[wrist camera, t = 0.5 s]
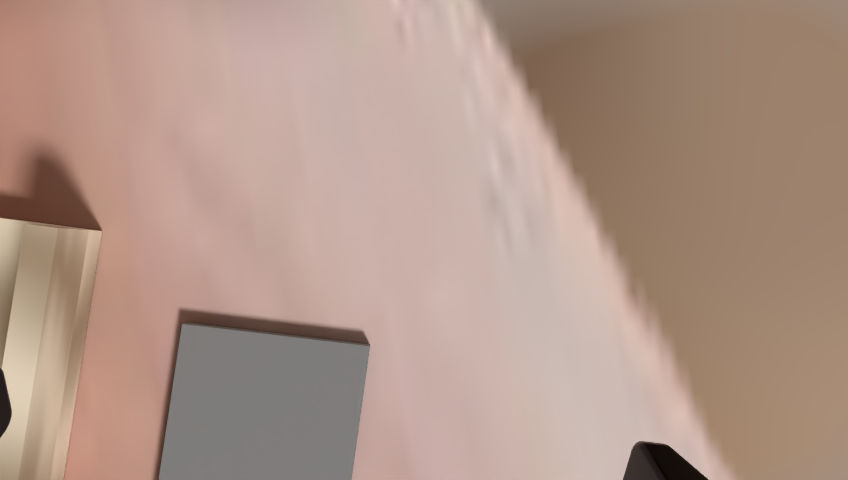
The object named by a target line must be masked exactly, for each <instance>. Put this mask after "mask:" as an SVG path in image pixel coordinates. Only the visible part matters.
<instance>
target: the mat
mask: <svg viewBox="0 0 848 480" xmlns="http://www.w3.org/2000/svg"><path fill="white" fill-rule="evenodd" d="M369 350H370V344H365V343H356V342H348V341H340V340H331V339H323V338H315V337H306V336H298V335H290V334H281V333H273V332H264V331H256V330H248V329H239V328H231V327H223V326H214V325H206V324H197V323H189V322H186V323H183V324H182V328H181V334H180V341H179V348H178V354H177V361H176V368H175V374H174V381H173V388H172V394H171V401H170V408H169V414H168V421H167V427H166V434H165V441H164V447H163V454H162V461H161V467H160V474H159V480H351V478H352V471H353V464H354V457H355V450H356V443H357V435H358V428H359V421H360V414H361V407H362V400H363V393H364V385H365V378H366V371H367V364H368V357H369Z"/></svg>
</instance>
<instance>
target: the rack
mask: <svg viewBox="0 0 848 480" xmlns="http://www.w3.org/2000/svg"><path fill="white" fill-rule="evenodd" d="M101 235H102V231H98V230H91V229H83V228H76V227H68V226H61V225H54V224H46V223H39V222H31V221H24V220H16V219H9V218H1V217H0V368H1V369H2V370H3V372H4V376H5V380H6V385H7V390H8V394H9V399H10V403H11V408H12V417H11V421H10V423H9V426H8V428H7V429H6V431H5V432H4V434H3V435H2V437H1V438H0V480H63V479H64V472H65V466H66V460H67V453H68V447H69V440H70V434H71V428H72V421H73V415H74V408H75V402H76V395H77V389H78V383H79V376H80V370H81V363H82V357H83V351H84V344H85V338H86V331H87V325H88V319H89V312H90V306H91V299H92V293H93V286H94V280H95V274H96V267H97V261H98V254H99V248H100V242H101Z"/></svg>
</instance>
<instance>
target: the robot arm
mask: <svg viewBox="0 0 848 480" xmlns="http://www.w3.org/2000/svg"><path fill="white" fill-rule="evenodd" d="M11 417H12V408H11V403H10V399H9V394H8V390H7V385H6V380H5V376H4V372H3V370H2V369H1V368H0V438H1V437H2V435H3V434H4V432H5V431H6V429H7V428H8V426H9V423H10V421H11ZM623 480H708V479H707V478H706V477H705V476H704V475H702V474H701V473H700V472H699V471H698V470H697V469H695V468H694V467H693V466H692V465H691V464H690V463H688V462H687V461H686V460H685V459H684V458H683V457H681V456H680V455H679V454H678V453H677V452H676V451H674V450H673V449H672V448H671V447H669V446H668V445H666V444H662V443H653V442H645V441H640V442H637V443H636V444H635V445H634V446H633V449H632V451H631V455H630V458H629V461H628V464H627V468H626V471H625V474H624V478H623Z"/></svg>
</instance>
